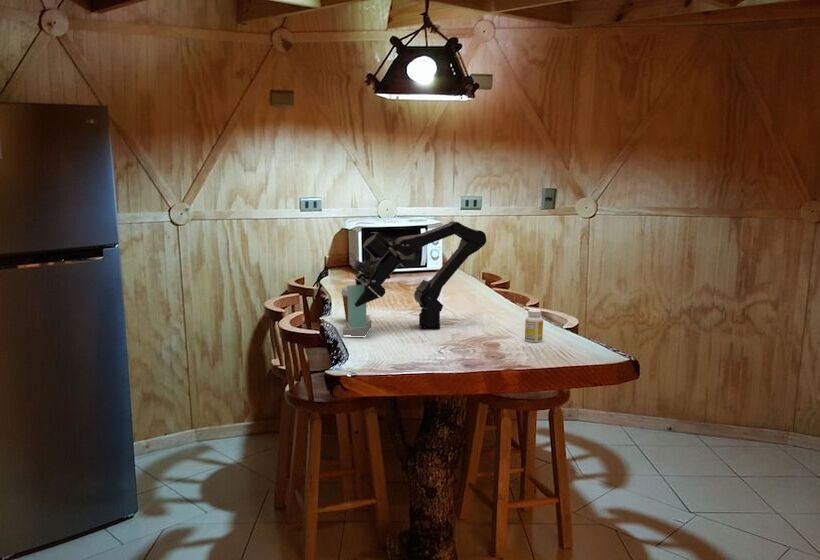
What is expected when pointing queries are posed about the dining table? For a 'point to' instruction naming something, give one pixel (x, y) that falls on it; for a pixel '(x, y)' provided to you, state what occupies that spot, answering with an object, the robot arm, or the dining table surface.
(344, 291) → the disposable coffee cup
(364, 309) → the column
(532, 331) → the supplement bottle
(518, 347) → the dining table surface
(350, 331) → the base plate
